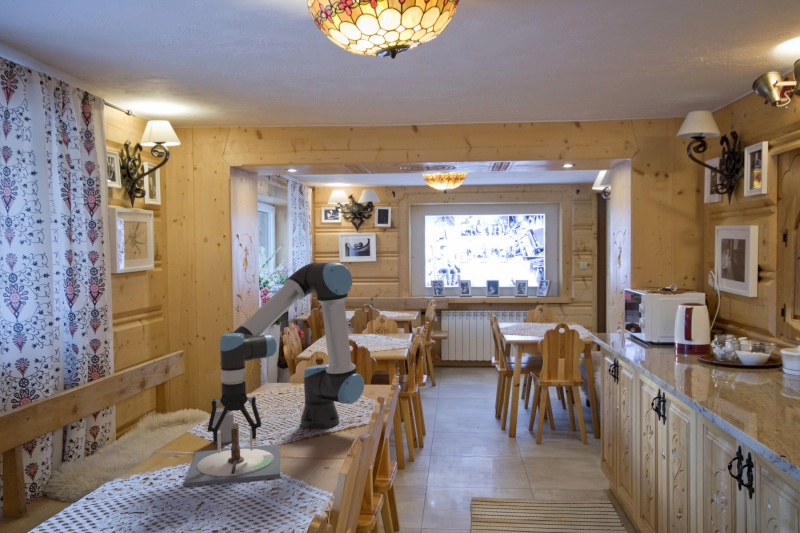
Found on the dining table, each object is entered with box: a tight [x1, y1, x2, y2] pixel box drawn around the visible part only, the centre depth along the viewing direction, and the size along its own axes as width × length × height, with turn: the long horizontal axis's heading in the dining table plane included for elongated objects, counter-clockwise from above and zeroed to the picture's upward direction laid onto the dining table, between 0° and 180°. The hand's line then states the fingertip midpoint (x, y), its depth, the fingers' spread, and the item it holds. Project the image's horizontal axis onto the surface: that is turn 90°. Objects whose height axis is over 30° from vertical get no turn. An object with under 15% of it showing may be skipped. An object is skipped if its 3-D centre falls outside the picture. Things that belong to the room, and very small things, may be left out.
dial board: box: [183, 444, 281, 488], centre depth 195 cm, size 28×28×2 cm
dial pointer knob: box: [228, 422, 244, 474], centre depth 190 cm, size 5×16×11 cm, turn 12°
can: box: [212, 406, 235, 445], centre depth 220 cm, size 8×8×12 cm
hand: (235, 450), depth 195 cm, fingers open, 9 cm apart
